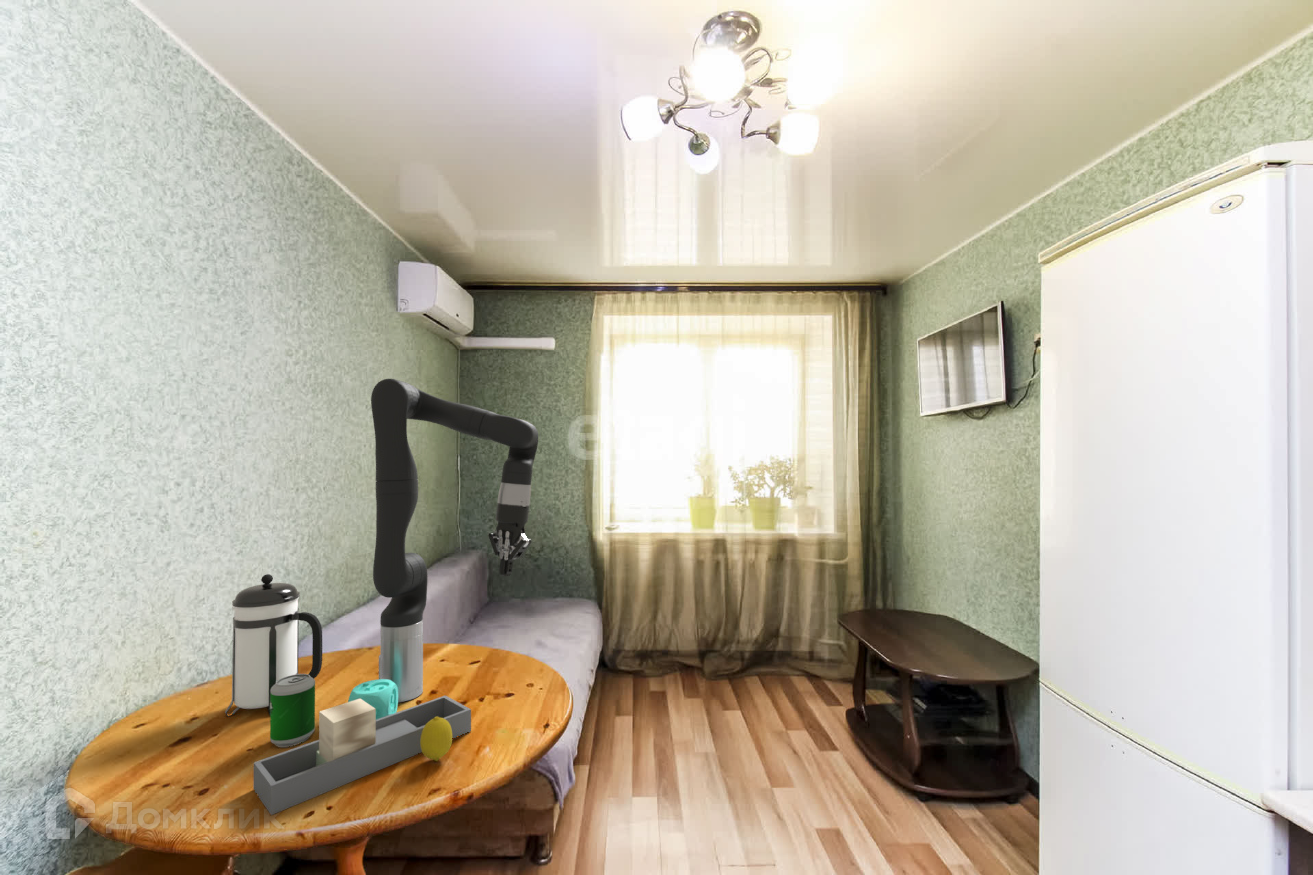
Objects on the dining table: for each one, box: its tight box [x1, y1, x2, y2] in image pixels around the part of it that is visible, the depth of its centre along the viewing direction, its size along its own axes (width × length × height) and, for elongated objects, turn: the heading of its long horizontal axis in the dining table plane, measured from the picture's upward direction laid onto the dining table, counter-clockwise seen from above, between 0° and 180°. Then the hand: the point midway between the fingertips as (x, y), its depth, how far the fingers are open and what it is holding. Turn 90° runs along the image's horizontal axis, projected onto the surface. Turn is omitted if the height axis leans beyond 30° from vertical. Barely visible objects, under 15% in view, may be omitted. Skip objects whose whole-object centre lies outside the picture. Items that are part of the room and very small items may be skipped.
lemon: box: [420, 716, 453, 762], centre depth 103 cm, size 6×6×8 cm
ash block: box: [318, 699, 376, 762], centre depth 100 cm, size 7×7×8 cm
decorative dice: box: [347, 678, 399, 720], centre depth 118 cm, size 8×8×8 cm
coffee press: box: [224, 573, 323, 717], centre depth 128 cm, size 17×16×30 cm
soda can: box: [269, 673, 316, 748], centre depth 112 cm, size 8×8×12 cm
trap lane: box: [252, 695, 472, 816], centre depth 104 cm, size 35×11×4 cm, turn 138°
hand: (505, 575), depth 132 cm, fingers closed
